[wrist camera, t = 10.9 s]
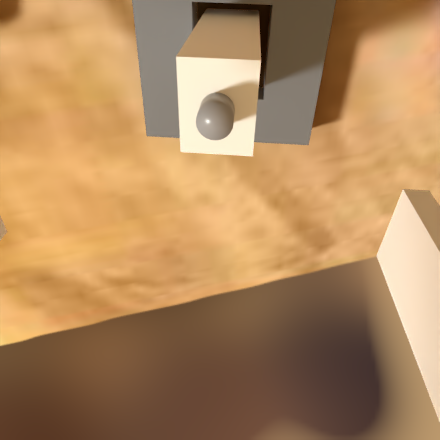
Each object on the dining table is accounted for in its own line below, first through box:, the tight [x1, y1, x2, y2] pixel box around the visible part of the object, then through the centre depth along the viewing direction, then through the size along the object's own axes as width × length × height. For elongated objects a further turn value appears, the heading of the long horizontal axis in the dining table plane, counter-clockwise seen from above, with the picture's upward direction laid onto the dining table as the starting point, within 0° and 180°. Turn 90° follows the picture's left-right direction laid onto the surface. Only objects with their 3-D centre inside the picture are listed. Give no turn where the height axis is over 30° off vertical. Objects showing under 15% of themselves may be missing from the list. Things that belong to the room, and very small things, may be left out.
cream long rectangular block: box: [176, 8, 261, 156], centre depth 24 cm, size 4×5×16 cm
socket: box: [132, 0, 336, 145], centre depth 28 cm, size 14×14×3 cm
